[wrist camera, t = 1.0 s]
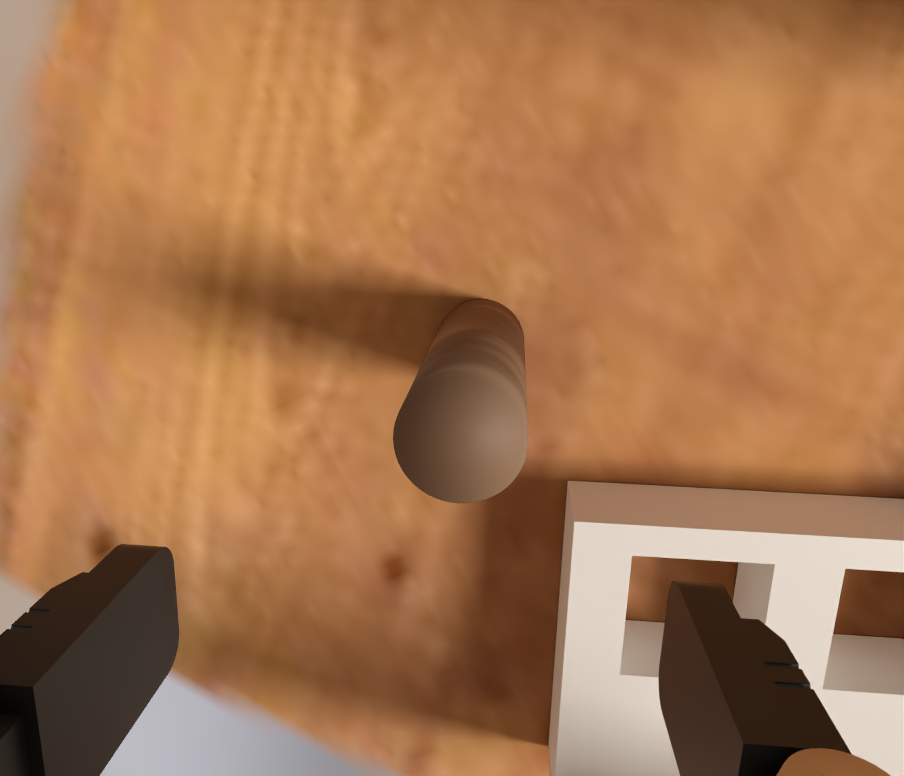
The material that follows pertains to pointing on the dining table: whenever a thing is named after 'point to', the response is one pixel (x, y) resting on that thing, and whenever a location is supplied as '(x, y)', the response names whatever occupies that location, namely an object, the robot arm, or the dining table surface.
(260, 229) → the dining table surface
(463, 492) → the walnut dowel
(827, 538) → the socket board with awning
